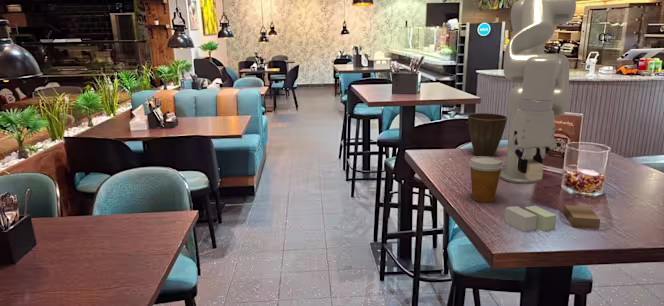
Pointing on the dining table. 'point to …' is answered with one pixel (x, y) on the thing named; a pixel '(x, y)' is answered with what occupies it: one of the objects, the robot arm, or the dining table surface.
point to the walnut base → (581, 216)
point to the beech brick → (532, 170)
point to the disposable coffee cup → (484, 177)
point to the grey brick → (520, 218)
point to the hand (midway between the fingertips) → (529, 170)
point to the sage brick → (543, 218)
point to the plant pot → (486, 132)
